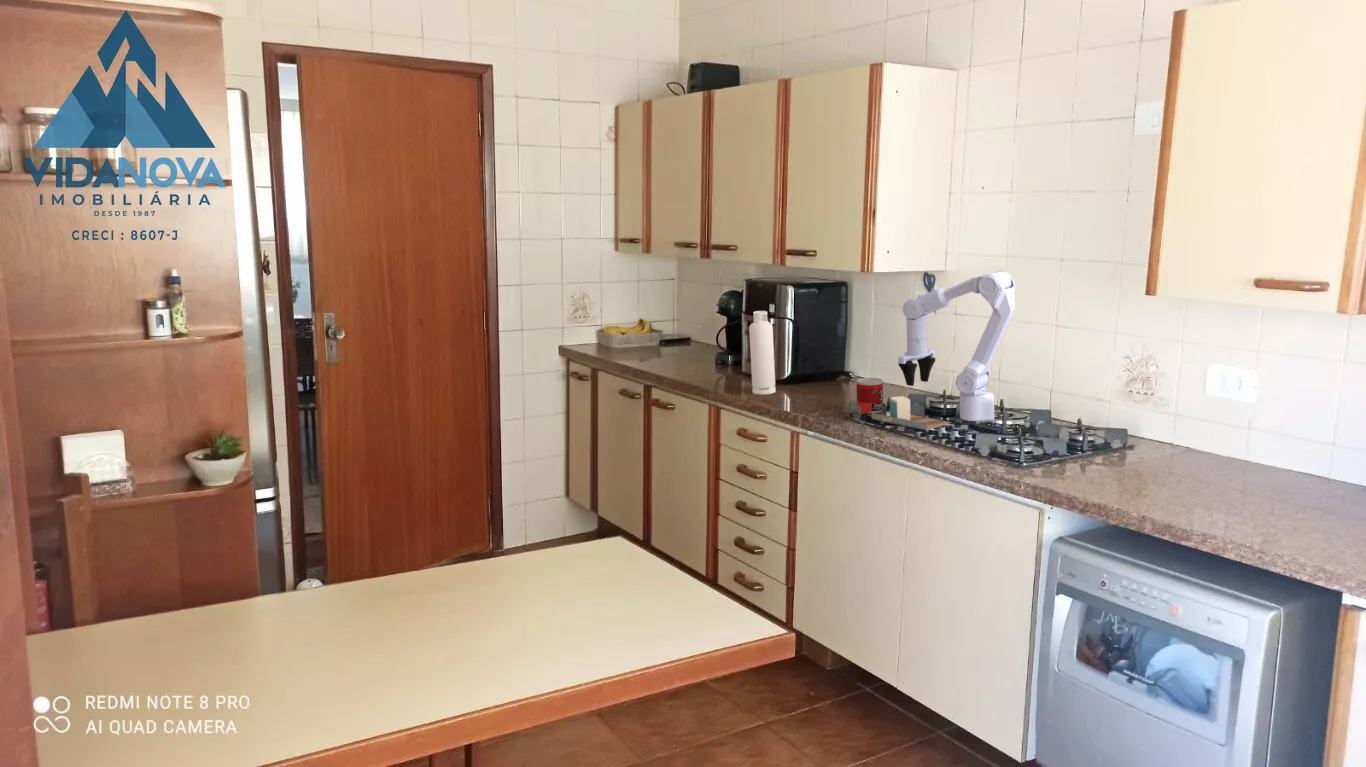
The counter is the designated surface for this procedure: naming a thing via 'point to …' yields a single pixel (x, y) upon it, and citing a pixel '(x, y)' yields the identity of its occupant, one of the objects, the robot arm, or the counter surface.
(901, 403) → the carton
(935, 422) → the shelf
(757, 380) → the bottle
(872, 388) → the canned food
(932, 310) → the robot arm
